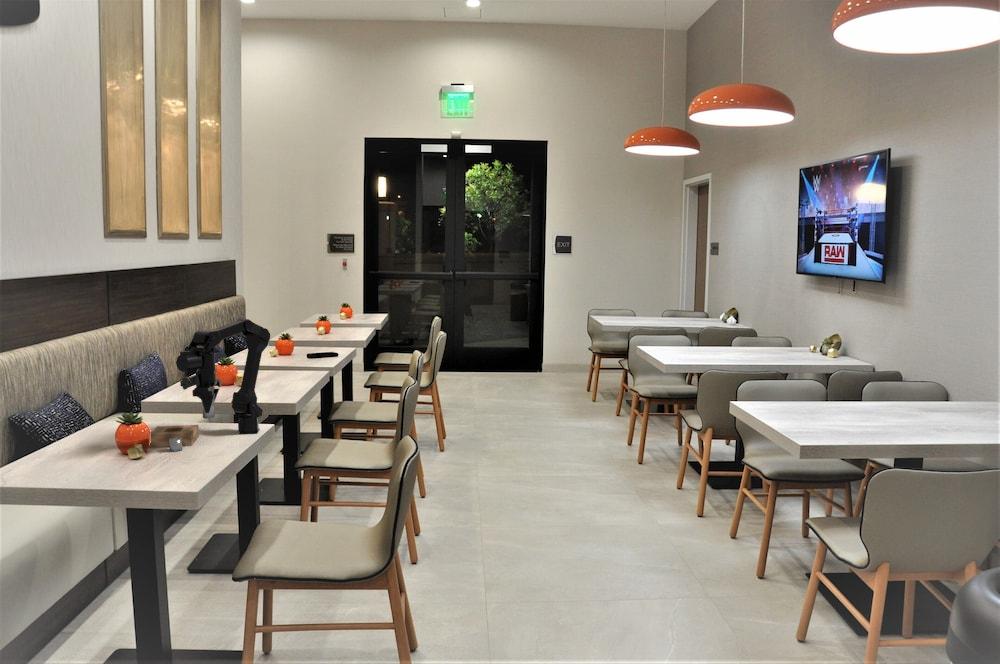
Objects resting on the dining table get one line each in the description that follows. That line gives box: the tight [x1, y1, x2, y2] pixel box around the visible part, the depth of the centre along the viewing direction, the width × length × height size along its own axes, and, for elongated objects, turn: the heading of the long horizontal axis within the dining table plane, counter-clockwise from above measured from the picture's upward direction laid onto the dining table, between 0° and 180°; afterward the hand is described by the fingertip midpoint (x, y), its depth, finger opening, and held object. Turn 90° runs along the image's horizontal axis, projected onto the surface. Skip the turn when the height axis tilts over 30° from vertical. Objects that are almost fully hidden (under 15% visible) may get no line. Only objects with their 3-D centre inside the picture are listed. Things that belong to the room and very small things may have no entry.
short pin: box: [168, 437, 183, 453], centre depth 260 cm, size 4×4×4 cm
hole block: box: [148, 424, 200, 449], centre depth 270 cm, size 14×12×4 cm
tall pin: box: [201, 399, 216, 420], centre depth 266 cm, size 4×4×8 cm
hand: (208, 411), depth 266 cm, fingers closed on tall pin, 4 cm apart
